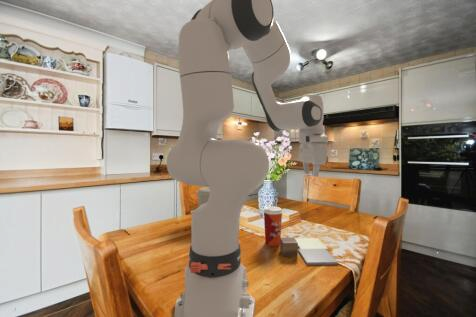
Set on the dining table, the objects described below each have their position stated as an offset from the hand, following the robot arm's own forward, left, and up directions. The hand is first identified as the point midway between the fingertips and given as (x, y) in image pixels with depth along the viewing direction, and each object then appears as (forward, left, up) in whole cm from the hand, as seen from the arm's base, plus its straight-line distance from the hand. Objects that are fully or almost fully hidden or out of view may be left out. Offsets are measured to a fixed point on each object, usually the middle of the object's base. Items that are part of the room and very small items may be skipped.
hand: (310, 174), depth 86 cm
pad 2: (-10, +1, -27) cm, 29 cm away
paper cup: (+2, +14, -28) cm, 31 cm away
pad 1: (0, 0, -27) cm, 27 cm away
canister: (+27, +39, -28) cm, 55 cm away
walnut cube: (-7, +10, -28) cm, 30 cm away
